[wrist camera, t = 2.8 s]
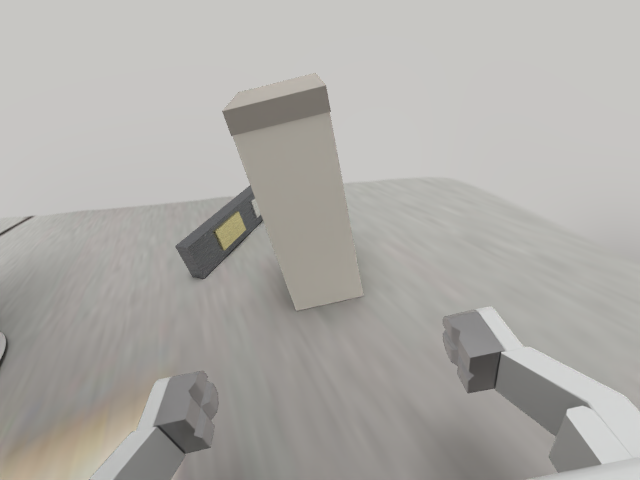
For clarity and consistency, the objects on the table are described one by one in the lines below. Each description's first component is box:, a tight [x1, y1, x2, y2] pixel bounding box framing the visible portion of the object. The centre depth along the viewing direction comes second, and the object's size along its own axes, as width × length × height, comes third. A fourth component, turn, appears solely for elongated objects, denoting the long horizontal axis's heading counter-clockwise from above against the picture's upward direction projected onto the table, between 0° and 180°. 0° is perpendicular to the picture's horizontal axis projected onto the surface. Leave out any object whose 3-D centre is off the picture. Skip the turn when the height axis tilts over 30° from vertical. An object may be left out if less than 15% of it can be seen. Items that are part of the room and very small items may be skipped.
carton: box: [222, 73, 364, 311], centre depth 21 cm, size 5×6×14 cm
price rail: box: [175, 185, 263, 279], centre depth 33 cm, size 2×14×4 cm, turn 156°
